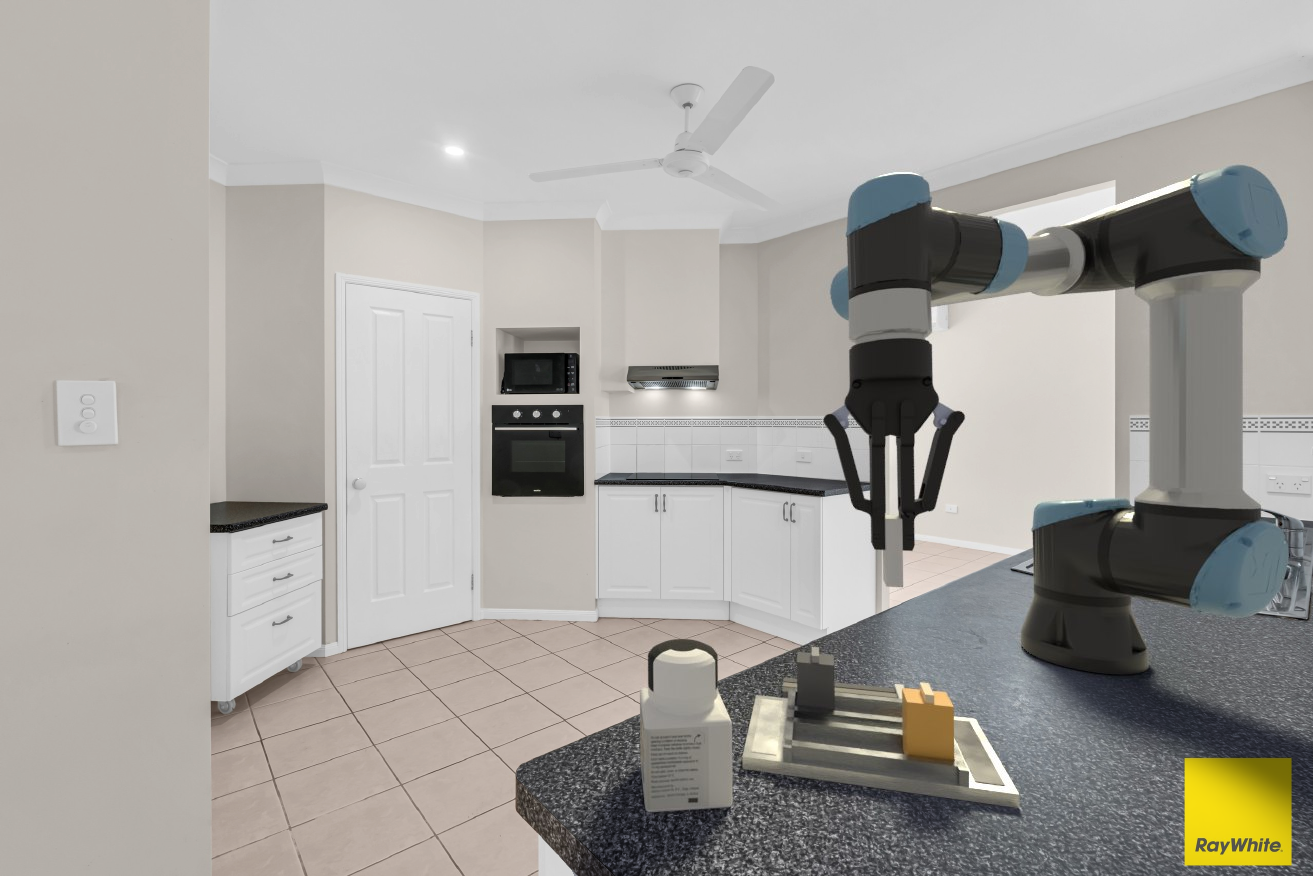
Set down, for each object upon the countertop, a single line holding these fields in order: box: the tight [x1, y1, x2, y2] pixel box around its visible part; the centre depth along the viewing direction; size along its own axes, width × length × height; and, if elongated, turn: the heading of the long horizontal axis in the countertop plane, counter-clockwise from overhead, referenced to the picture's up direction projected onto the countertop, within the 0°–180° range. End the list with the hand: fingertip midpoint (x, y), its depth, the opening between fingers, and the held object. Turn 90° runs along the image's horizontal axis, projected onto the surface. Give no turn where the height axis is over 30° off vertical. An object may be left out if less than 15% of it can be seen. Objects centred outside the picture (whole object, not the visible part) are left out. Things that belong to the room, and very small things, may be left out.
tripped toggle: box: [902, 681, 955, 761], centre depth 55 cm, size 4×3×7 cm
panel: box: [742, 687, 1020, 809], centre depth 60 cm, size 24×14×3 cm, turn 75°
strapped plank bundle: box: [781, 677, 905, 699], centre depth 70 cm, size 18×5×2 cm, turn 75°
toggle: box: [796, 646, 836, 710], centre depth 65 cm, size 4×3×7 cm
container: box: [639, 638, 733, 813], centre depth 54 cm, size 8×8×13 cm
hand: (892, 583), depth 56 cm, fingers closed
